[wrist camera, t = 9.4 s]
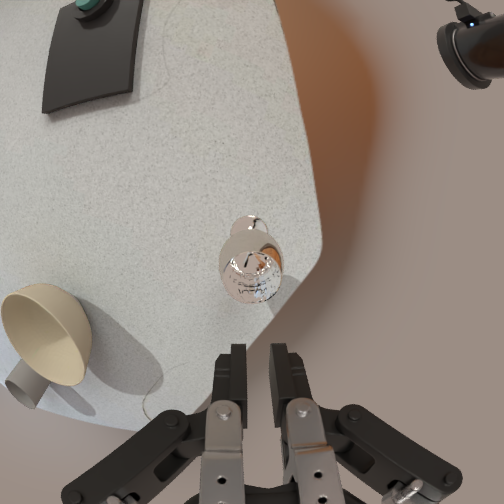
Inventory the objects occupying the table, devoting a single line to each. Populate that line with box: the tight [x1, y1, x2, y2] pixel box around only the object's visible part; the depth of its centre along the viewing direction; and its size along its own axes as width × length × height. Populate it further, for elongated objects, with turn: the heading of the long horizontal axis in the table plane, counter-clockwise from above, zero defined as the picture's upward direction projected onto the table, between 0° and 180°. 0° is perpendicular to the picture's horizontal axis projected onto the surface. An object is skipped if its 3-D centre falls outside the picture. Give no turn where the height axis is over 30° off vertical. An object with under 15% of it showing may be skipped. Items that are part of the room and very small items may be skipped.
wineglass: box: [219, 215, 284, 304], centre depth 27 cm, size 6×6×12 cm
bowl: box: [1, 284, 92, 386], centre depth 31 cm, size 16×16×10 cm
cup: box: [5, 359, 51, 409], centre depth 37 cm, size 8×8×10 cm
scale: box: [42, 0, 144, 114], centre depth 21 cm, size 19×14×3 cm
